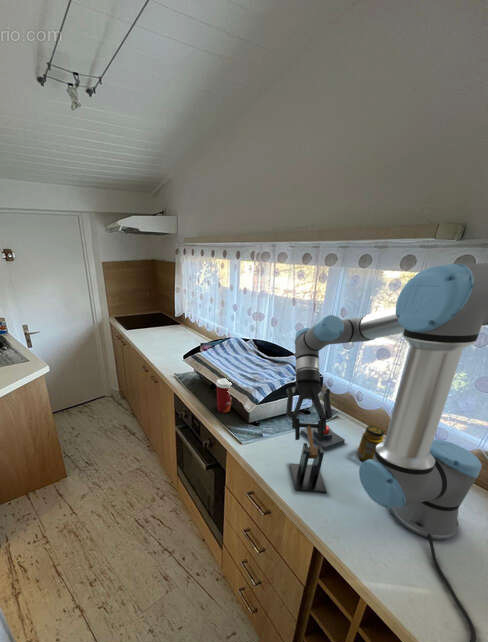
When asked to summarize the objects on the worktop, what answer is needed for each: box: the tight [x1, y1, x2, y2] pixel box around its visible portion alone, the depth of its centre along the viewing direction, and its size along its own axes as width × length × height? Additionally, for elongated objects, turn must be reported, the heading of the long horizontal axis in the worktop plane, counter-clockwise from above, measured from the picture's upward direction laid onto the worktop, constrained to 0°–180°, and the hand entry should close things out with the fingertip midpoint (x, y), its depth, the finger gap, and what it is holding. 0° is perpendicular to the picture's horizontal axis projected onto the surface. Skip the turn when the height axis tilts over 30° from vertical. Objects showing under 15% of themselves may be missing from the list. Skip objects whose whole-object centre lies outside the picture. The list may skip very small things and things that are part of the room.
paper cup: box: [215, 377, 233, 414], centre depth 134 cm, size 8×8×14 cm
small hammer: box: [300, 422, 319, 460], centre depth 96 cm, size 12×6×2 cm, turn 172°
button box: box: [300, 427, 346, 451], centre depth 116 cm, size 12×10×4 cm
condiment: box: [355, 425, 385, 464], centre depth 104 cm, size 7×8×12 cm
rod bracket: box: [289, 442, 327, 494], centre depth 95 cm, size 12×9×13 cm
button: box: [323, 424, 330, 434], centre depth 115 cm, size 4×4×2 cm
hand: (309, 440), depth 97 cm, fingers open, 6 cm apart
